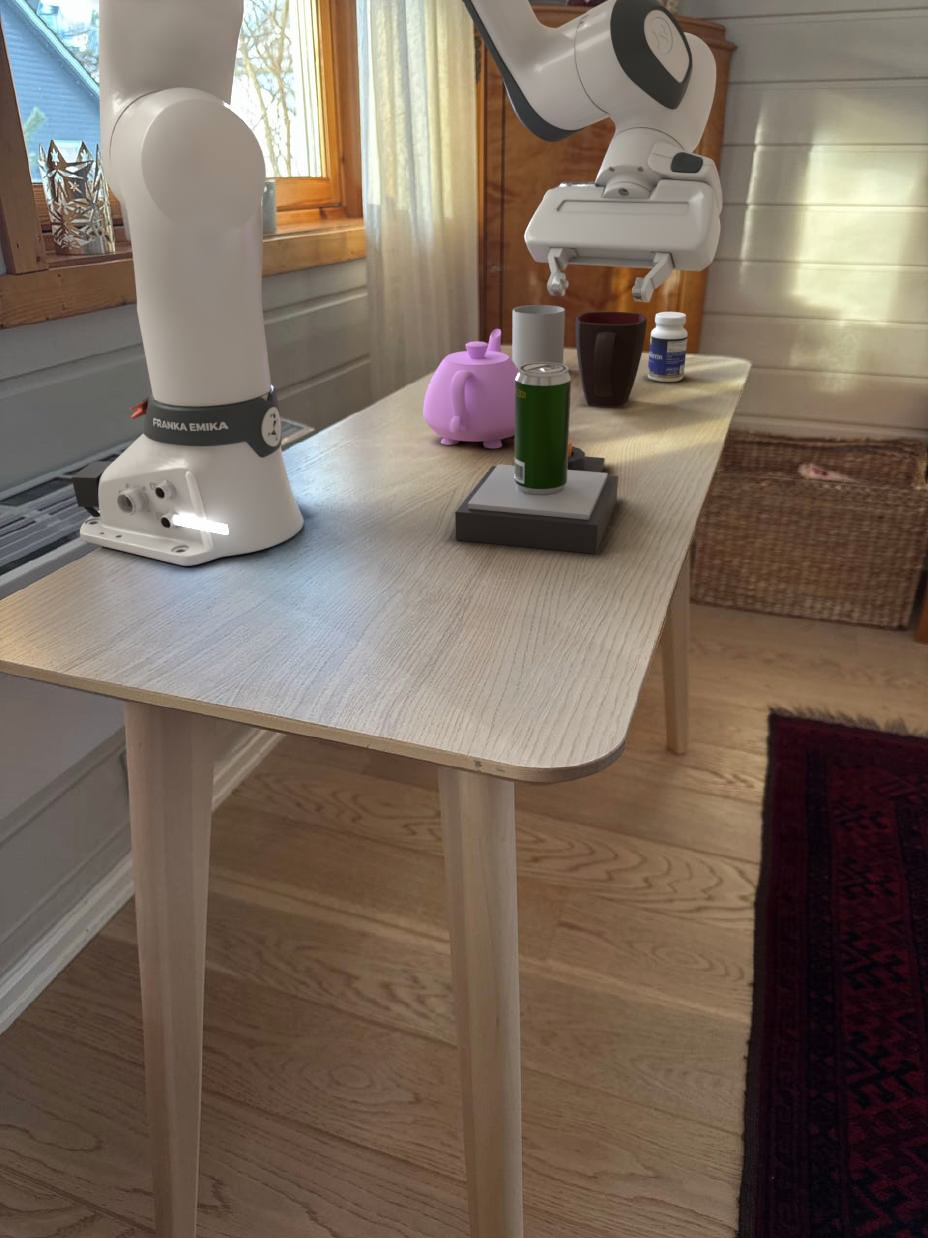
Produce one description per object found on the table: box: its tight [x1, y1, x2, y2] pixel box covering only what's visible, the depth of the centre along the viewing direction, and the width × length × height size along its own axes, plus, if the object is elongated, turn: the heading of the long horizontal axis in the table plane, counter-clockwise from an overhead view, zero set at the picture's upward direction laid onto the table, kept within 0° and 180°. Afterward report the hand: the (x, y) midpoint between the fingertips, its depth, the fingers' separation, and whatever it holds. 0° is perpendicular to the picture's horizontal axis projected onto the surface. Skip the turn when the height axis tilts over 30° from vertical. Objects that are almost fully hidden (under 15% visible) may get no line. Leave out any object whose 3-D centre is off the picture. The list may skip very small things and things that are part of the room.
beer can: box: [513, 362, 572, 495], centre depth 89 cm, size 5×5×12 cm
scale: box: [454, 463, 619, 555], centre depth 92 cm, size 14×14×4 cm
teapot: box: [422, 328, 518, 449], centre depth 116 cm, size 20×14×12 cm
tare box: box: [512, 445, 606, 473], centre depth 104 cm, size 10×10×3 cm
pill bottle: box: [647, 311, 688, 383], centre depth 142 cm, size 6×6×10 cm
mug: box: [575, 311, 648, 408], centre depth 128 cm, size 10×14×12 cm
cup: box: [511, 304, 566, 369], centre depth 147 cm, size 8×8×10 cm
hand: (596, 295), depth 92 cm, fingers open, 8 cm apart
